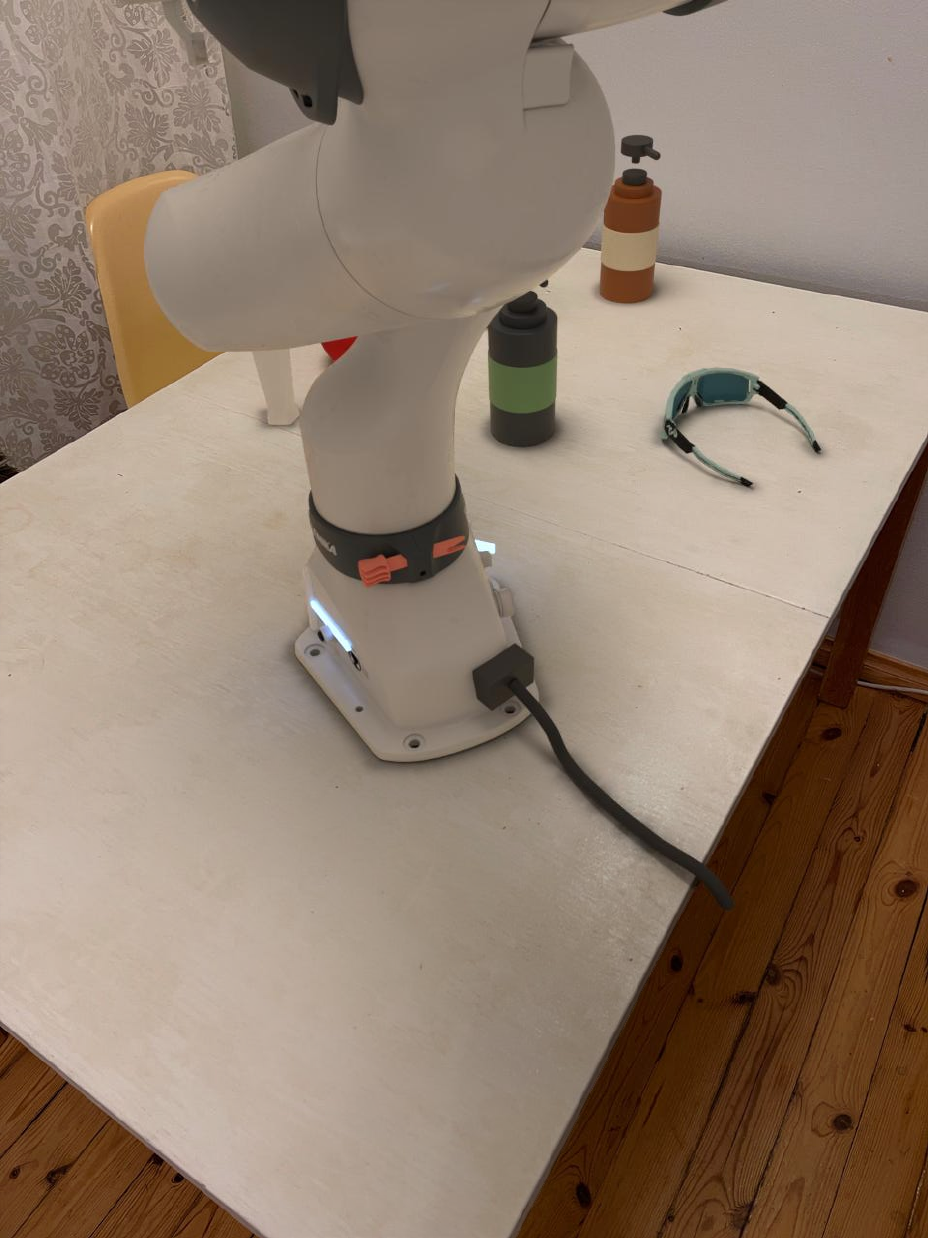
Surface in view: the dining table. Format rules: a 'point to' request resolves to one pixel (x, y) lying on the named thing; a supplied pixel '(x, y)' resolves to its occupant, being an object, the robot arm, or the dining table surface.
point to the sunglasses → (719, 390)
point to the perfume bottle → (277, 385)
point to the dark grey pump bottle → (523, 372)
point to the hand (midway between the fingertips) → (260, 55)
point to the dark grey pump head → (638, 147)
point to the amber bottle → (630, 238)
